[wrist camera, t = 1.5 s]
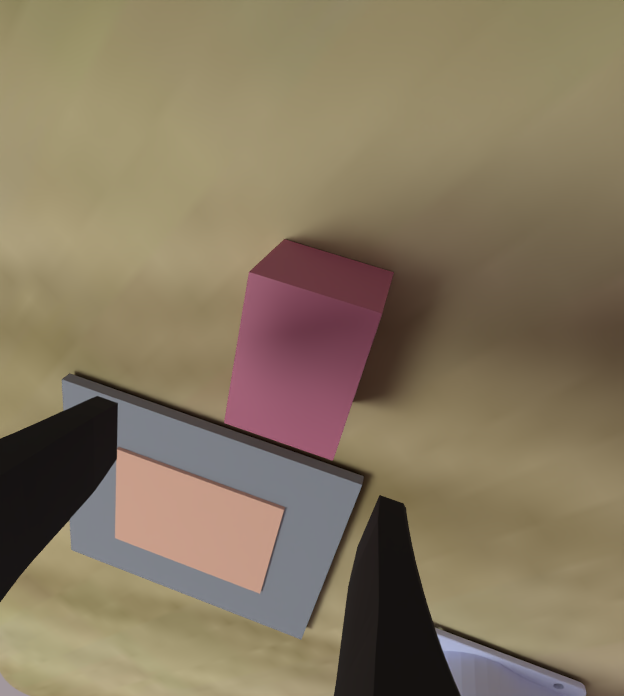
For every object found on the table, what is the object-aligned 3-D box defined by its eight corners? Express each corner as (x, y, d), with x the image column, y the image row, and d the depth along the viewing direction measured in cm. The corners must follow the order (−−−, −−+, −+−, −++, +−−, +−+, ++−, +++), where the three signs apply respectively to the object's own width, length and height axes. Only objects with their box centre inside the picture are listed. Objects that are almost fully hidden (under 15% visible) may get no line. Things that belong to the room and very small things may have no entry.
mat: (363, 476, 23) (361, 487, 23) (303, 630, 31) (300, 642, 30) (69, 373, 25) (59, 381, 24) (77, 542, 32) (69, 552, 31)
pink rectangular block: (393, 272, 19) (382, 313, 15) (350, 402, 22) (332, 460, 18) (284, 239, 19) (249, 271, 16) (258, 371, 22) (224, 422, 19)
